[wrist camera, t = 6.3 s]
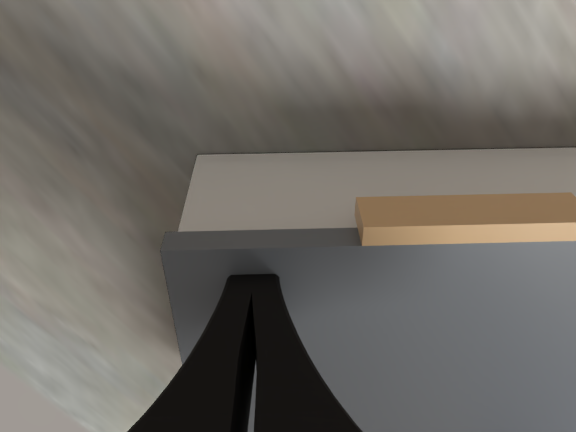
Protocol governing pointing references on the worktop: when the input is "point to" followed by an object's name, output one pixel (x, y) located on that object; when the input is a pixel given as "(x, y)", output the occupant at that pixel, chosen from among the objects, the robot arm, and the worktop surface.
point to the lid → (414, 307)
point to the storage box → (356, 183)
